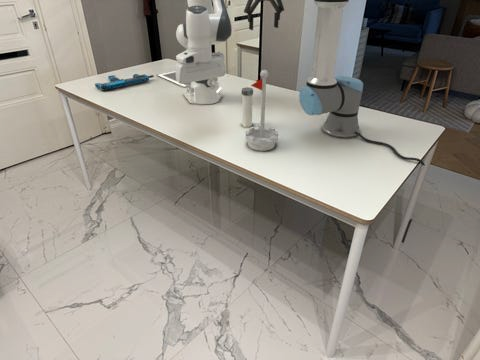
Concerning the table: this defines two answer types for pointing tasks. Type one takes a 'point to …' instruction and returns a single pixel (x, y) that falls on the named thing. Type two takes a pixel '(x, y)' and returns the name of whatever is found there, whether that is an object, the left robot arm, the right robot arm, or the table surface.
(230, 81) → the table surface
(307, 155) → the table surface
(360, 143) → the table surface
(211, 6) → the left robot arm
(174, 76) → the tablet
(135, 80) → the submachine gun
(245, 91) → the lid
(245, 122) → the jar
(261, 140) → the flag stand
